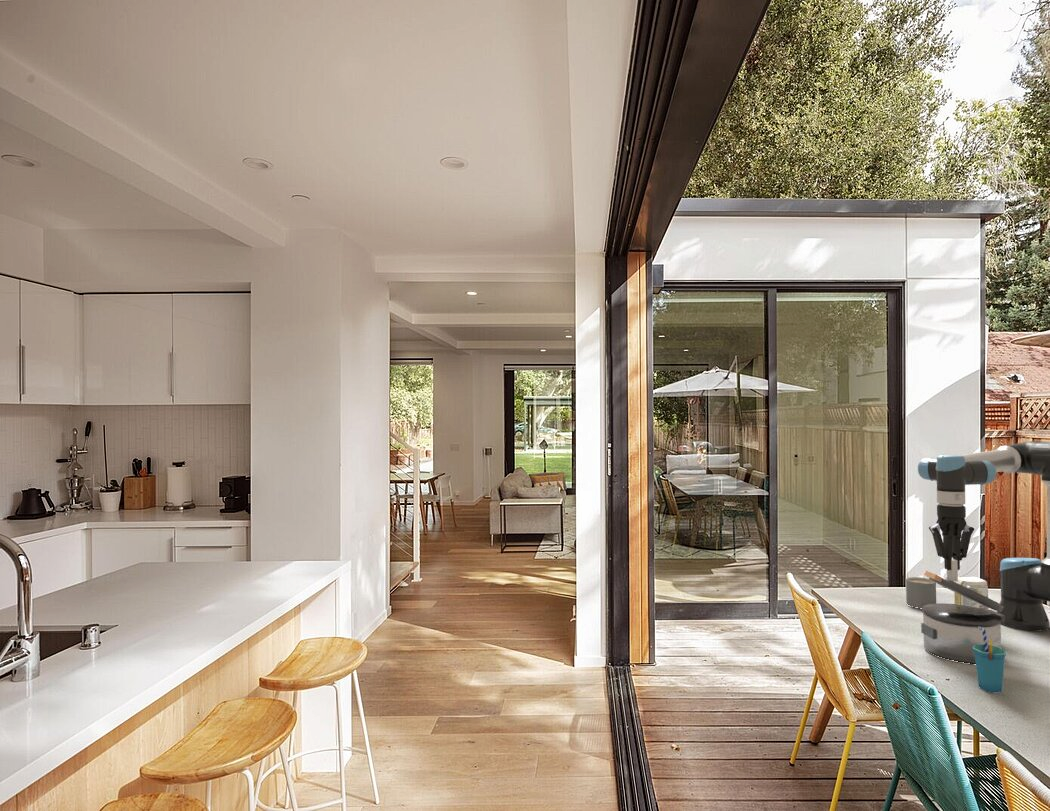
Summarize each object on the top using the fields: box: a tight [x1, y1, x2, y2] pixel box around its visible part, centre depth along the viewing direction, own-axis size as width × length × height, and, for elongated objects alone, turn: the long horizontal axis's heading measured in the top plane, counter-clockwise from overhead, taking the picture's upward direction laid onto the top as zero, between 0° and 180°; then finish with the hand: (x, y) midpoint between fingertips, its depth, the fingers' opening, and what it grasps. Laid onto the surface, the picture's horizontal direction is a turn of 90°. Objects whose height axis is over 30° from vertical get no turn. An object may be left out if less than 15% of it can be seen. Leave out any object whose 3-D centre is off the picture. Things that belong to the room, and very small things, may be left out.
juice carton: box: [953, 576, 990, 610], centre depth 217 cm, size 8×9×19 cm
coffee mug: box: [905, 576, 937, 608], centre depth 251 cm, size 13×10×10 cm
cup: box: [973, 626, 1007, 693], centre depth 176 cm, size 14×8×15 cm, turn 160°
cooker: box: [920, 603, 1005, 665], centre depth 201 cm, size 22×21×12 cm
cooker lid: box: [923, 570, 1004, 612], centre depth 201 cm, size 22×20×4 cm
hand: (952, 580), depth 201 cm, fingers closed
